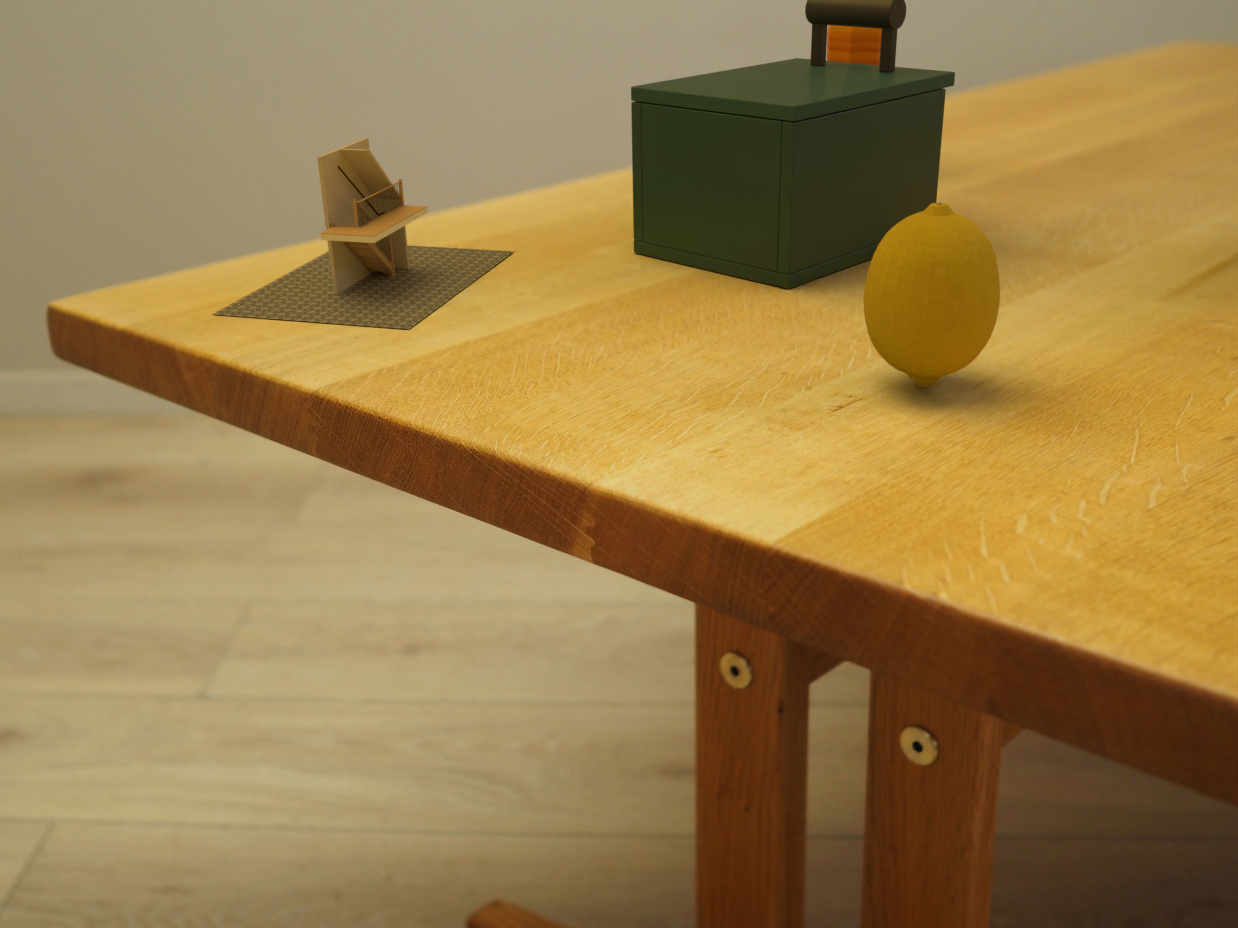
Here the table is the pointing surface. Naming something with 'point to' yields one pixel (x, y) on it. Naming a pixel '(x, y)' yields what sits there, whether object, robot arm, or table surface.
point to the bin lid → (807, 73)
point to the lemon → (932, 294)
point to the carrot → (854, 44)
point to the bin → (781, 185)
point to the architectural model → (366, 256)
